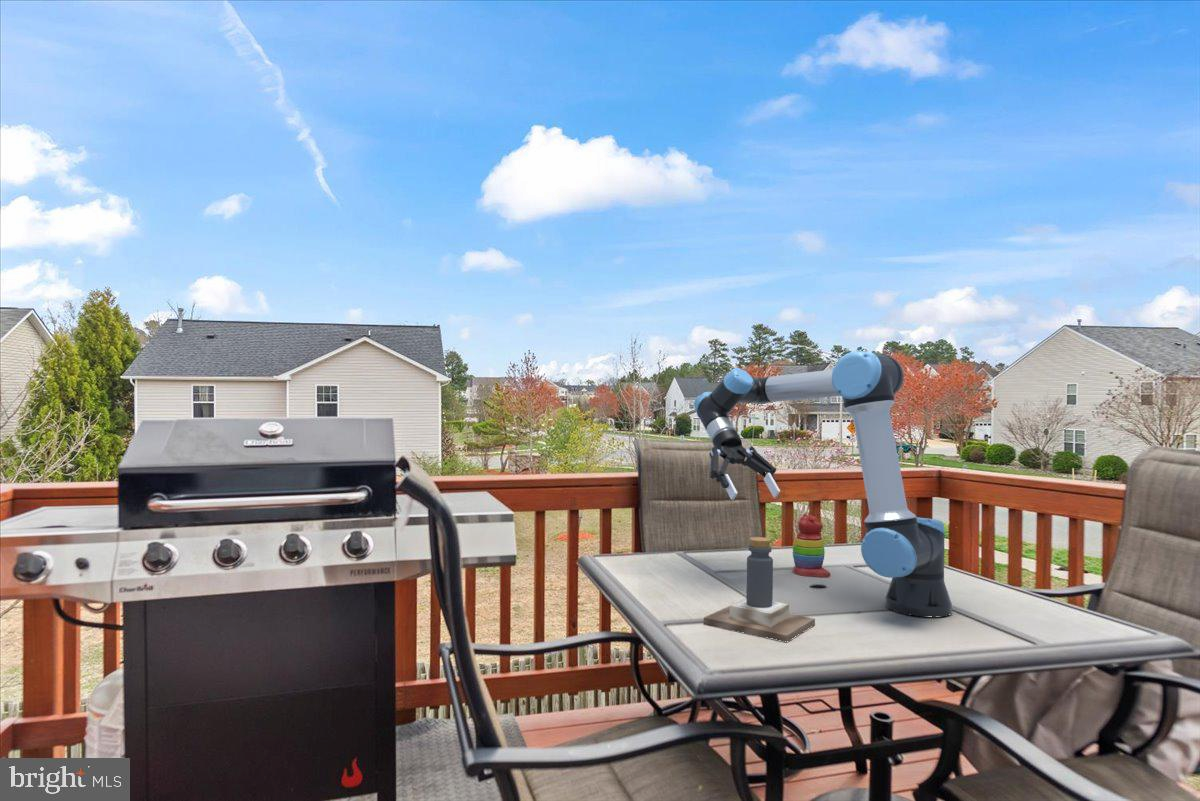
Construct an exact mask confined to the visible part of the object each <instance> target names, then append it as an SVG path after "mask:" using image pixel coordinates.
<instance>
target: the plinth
mask: <svg viewBox="0 0 1200 801" xmlns="http://www.w3.org/2000/svg"><path fill="white" fill-rule="evenodd" d="M814 624H815V625H816V618H814V617H808V616H803V615H800V614H799V615H797V614H793V613H790V604H789V603H785V602H779V601H773V600H772V606H771V607H766V608H759V607H753V606H750V605H748V604H747V602H746V598H743V599H742V600H739V601H737V602H735V603H732V604H730V605H728V606H726V607H724V608H722V609H720V610H717V611H715V612H713V613H711V614H709V615H706V616H704V617H703V625H705V626H710V627H713V628H714V627H716V628H720V629H725V630H728V631H732V630H734V631H733V632H737V631H739V632H738V633H741V632H744V633H743V634H746V633H748V634H747V635H750V634H752V635H751V636H754V635H757V636H756V637H759V636H762V637H761V638H763V637H768V638H773V639H777V640H781V641H786V642H787V641H789V640H790V641H792V640H793V639H792V638H794V637H795V636H797V635H798V634H800V633H802V632H803V631H805V630H807V629H808V628H810V627H811V626H813V625H814ZM813 627H814V626H813ZM811 628H812V627H811ZM811 628H810V629H811ZM808 630H809V629H808ZM808 630H807V631H808ZM805 632H806V631H805ZM803 633H804V632H803ZM803 633H802V634H803ZM800 635H801V634H800ZM798 636H799V635H798ZM798 636H797V637H798ZM768 638H767V639H768ZM795 638H796V637H795ZM795 638H794V639H795ZM791 639H792V640H791ZM777 640H776V641H777ZM781 641H780V642H781ZM790 641H789V642H790ZM786 642H785V643H786ZM787 643H788V642H787Z"/></svg>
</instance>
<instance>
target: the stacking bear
mask: <svg viewBox="0 0 1200 801" xmlns="http://www.w3.org/2000/svg"><path fill="white" fill-rule="evenodd" d="M797 526H798V531H799V532H798V533H797V534H796V537H795V538H794V541H793V546H792V559H793V563H794V567H793V570H792V572H793V573H794V574H795V573H796V574H795V575H799V576H802V575H803V577H810V576H812V577H811V578H829V577H831V573H830V571H829V570H827V569H825V568H824V567H823V565H824V560H825V553H826V552H825V546H824V541H823V539H822V538H823V537H822V536H821V535H820V533H821V532H822V530H823V528H824V524H822V522H821V521H820V520H819V518H818V517H817V516H815V515H813V514H812V515H811V514H807V513H804V514H803V515H802V516H801V517H800V518H799V520H798V522H797Z"/></svg>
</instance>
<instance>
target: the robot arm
mask: <svg viewBox="0 0 1200 801" xmlns="http://www.w3.org/2000/svg"><path fill="white" fill-rule="evenodd" d="M904 381H905V372H904V370H903V366H902V365H901V364H900V362H899V361H898V360H896V358H894V357H893V356H890V355H887V354H883V353H876V352H871V351H868V350H860V351H859V350H858V351H857V350H855V351H851V352H848V353H846V354H844V355H843V356H841V357H840V358H839V359H838V360H837V362H836V364H835V365H834V366H833V369H825V370H816V371H808V372H800V373H792V374H790V373H789V374H782V375H774V376H773V375H772V376H764V377H763V376H762V377H752V376H751V375H750V373H749V372H747V371H746V370H745V369H741V368H739V367H734V368H733V369H731V370H730V372H728V373H727V374H726V375H725V376H724V378H723V379H722V380H721V381H720V383H719V384H718V385H717V386H716V387H715V389H714V390H713V391H704V392H703V393H701V394H700V395H697V396H696V398H695V399H694V402H693V407H694V410H695V412H696V416H697V417H698V418H699V420H700V421H701V423H702V425H703V427H704V429H705V431H706V433H707V435H708V437H709V439H710V441H711V443H712V444H713V446H712V448H711V450H710V452H709V454H708V455H709V457H710V474H709V476H710V479H715V481H716V482H717V483H719V482H720V485H721V487H722V488H723V489H725V491H726V493H727V495H728V496H729V498H730V500H731V501H734V500H735V498H736V497H737V495H738V490H737V489H736V487H735V485H734V483H733V481H732V480H731V479H732V478H730V476H729V474H727V473H726V471H727V469H728V466H729V464H731V465H735V464H737V465H743V466H745V467H746V466H747V467H748V468H750V469H751V470H752V471H754V472H756V473H758V475H761V476H762V477H763V481H764V484H765V485H766V487H767V488H768V490H769V492H770V494H771V495H772V497H773V498H774V499H775V498H777V497H778V495H779V494H780V493H781V490H780V488H779V486H778V484H777V483H778V482H777V480H776V478H775V476H774V475H775V474H776V471H777V468H776V467H775V466H773V464H772V463H770V462H769V461H768V460H766V458H764V457H763V456H762V455H761V454H760V453H758V451H757V450H756V448H755V447H754V446H750V447H749V448H745V447H744V446H743V444H742V443H743V442H742V439H741V437H740V435H739V433H738V432H737V429H736V427H734V424H733V423H732V421H731V420H730V417H729V415H728V414H729V413H730V412H731V411H732V410H733V409H734V408H735V407H736V405H737V404H740V403H741V404H759V405H763V404H769V403H775V402H776V403H777V402H786V401H787V402H789V401H799V400H811V399H812V400H813V399H823V398H836V397H842V401H843V402H842V403H843V408H844V410H845V411H846V412H847V413H849V415H851V416H852V421H853V426H854V433H855V438H856V444H857V450H858V454H859V455H858V456H859V462H860V466H861V472H862V477H863V478H862V479H863V484H864V489H865V495H866V501H867V506H868V515H867V516H866V517H865V519H864V521H863V522H864V528H865V536H864V537H863V539H862V541H861V545H860V551H861V555H862V556H861V557H862V559H863V562H864V563H865V564H866V565H867V567H868V568H869V569H870V570H871V571H873V572H874V573H875V574H877V575H879V576H880V577H881V576H882V577H883V578H889V579H891V581H890V583H889V587H888V589H887V592H886V595H885V607H886V608H887V607H888V608H889V609H888V608H887V609H888V610H890V609H892V610H895V611H898V612H901V613H900V614H902V613H905V614H904V615H906V614H911V615H916V616H915V617H918V616H932V617H931V618H936V617H935V616H946V617H948V616H947V615H949V614H951V613H952V614H953V605H952V604H953V603H952V601H951V598H950V595H949V591H948V588H947V586H946V582H945V536H946V533H945V525H944V523H943V521H942V520H940V519H936V518H935V519H934V518H926V517H918V516H917V515H916V514H915V513H913V512H912V511H911V510H909V508H908V503H907V499H906V494H905V488H904V481H903V477H902V472H901V466H900V465H901V464H900V461H899V460H900V459H899V455H898V450H897V445H896V439H895V434H894V428H893V422H892V417H891V412H890V411H891V408H892V406H894V405H895V402H896V401H895V395H896V394H897V393H898V392H900V390H901V389H902V386H903V384H904ZM719 456H720V457H721V459H723V462H722V465H721V467H720V469H719V458H720V457H719ZM745 459H746V460H745ZM892 610H891V611H892ZM895 611H894V612H895ZM898 612H897V613H898ZM952 614H951V615H952ZM911 615H910V616H911ZM949 616H950V615H949Z"/></svg>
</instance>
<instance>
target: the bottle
mask: <svg viewBox="0 0 1200 801" xmlns="http://www.w3.org/2000/svg"><path fill="white" fill-rule="evenodd" d="M749 541H750V545H749V546H748V551H750V552H751V553H750V555H748V556H747V557H746V596H745V597H746V598H745V599H746V602H747V604H748V605H750V606H753V607H759V608H766V607H771V606H772V601H773V598H774V596H773V594H774V592H773V588H774V585H773V582H774V578H773V577H774V576H773V575H774V559H773V558H772V557H771V556H770V553H771V552H772V547H771V546H770V545H771V538H768V537H761V536H760V537H759V536H754V537H750V538H749Z"/></svg>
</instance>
